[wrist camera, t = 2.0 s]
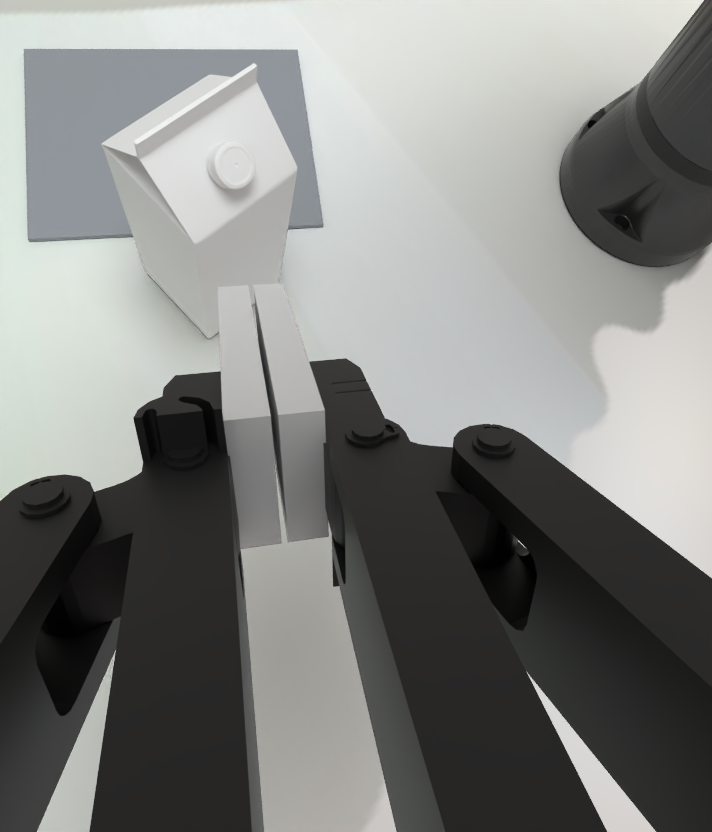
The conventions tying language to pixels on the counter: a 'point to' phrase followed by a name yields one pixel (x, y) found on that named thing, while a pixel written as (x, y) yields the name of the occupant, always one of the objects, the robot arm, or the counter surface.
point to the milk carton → (207, 192)
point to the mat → (120, 107)
